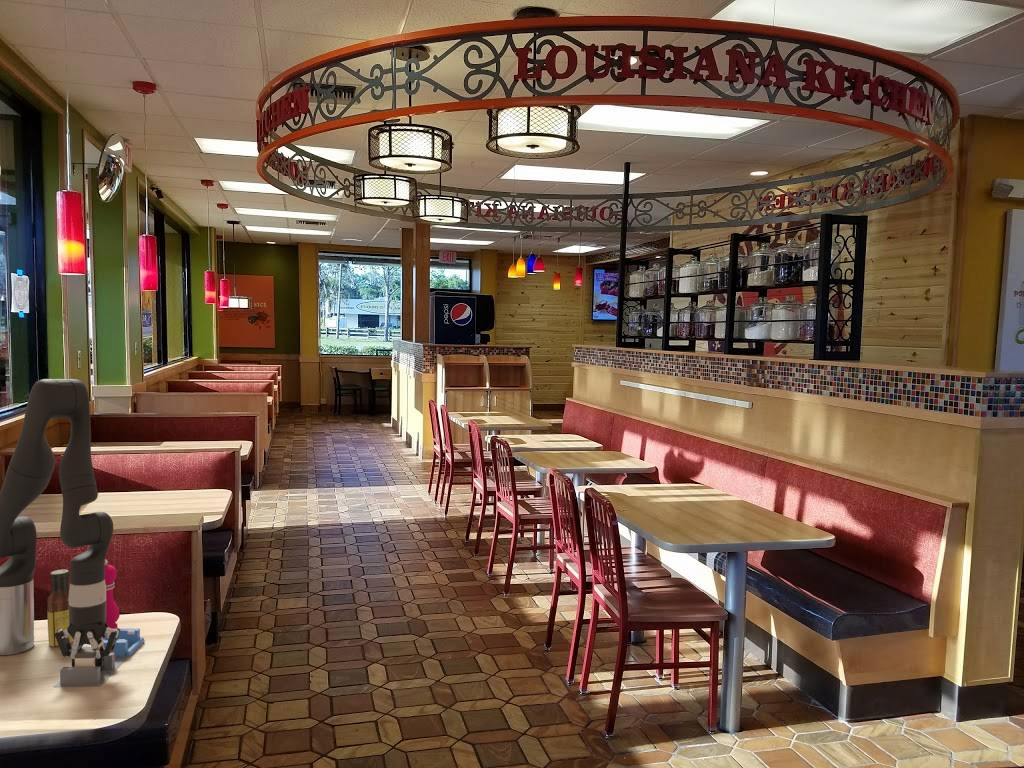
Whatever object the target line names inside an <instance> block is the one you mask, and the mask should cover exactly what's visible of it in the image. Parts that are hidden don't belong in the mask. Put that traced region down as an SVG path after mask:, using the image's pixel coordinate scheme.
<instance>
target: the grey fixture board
mask: <svg viewBox="0 0 1024 768" xmlns="http://www.w3.org/2000/svg"><path fill="white" fill-rule="evenodd" d="M119 629H120V633H119V636H118V638H117V641H116V644H115V647H114V650H113V651H112V652H111V653H110V654H109V655H108V656H105V657H104V663H105V664H104V665H105V667H104V669H103V670H102V671H101V673H100V666H95V667H72V666H63V667H62V668H60V669H59V677H60V678H59V681H58V682H57V683H56V684H55V685H54V686H53V688H95V687H99V688H101V686H102V685H103V684H105V683H106V681H107V680H108V679H109V678H111V677H112V675H114V673H115V672H116V671H117V670H118V669H119V668H120V667H121V666H122V665H123V664H124V663H125V662H126V661H127V660H128V659H129V658H130V657H131V655H133V654H134V653H135V652H136V650H138V649H139V647H141V646H142V644H144V643H145V642H146V640H145V636H141V629H140V628H137V627H136V628H135V627H134V628H127V627H126V628H119ZM108 639H109V638H107V633H106V632H105V637H104V639H103V641H104V644H103V645H104V649H105V647H106V645H107V642H108Z"/></svg>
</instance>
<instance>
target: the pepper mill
mask: <svg viewBox="0 0 1024 768" xmlns="http://www.w3.org/2000/svg"><path fill="white" fill-rule="evenodd" d="M108 563H109V562H108V559H105V584H106V623H107V625H108V627H109V628H113V629H116V628H119V627H118V623H117V622H118V621H119V619H120V609H119V607H118V605H117V603H116V601H115V599H114V593H113V591H114V588H115V587H116V586H115V584H116V583H115V579H116V578H117V575H118V574H117V569H116V567H115V566H114V565H111V564H108ZM103 636H105V634H104V635H103Z"/></svg>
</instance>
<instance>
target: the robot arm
mask: <svg viewBox="0 0 1024 768" xmlns="http://www.w3.org/2000/svg"><path fill="white" fill-rule="evenodd" d="M90 406H91V404H90V396H89V392H88V389H87V386H86V385H85V383H84V382H83V381H82V380H80V379H75V378H43V379H39V380H37V381H36V382H35V383H34V384H33V386H32V388H31V390H30V393H29V396H28V400H27V404H26V408H25V413H24V416H23V417H24V419H23V422H22V426H21V430H20V434H19V435H18V440H17V442H16V446H15V448H14V451H13V452H12V453H13V454H12V456H11V459H10V462H9V464H8V467H7V470H6V473H5V475H4V480H3V483H2V485H1V488H0V559H2V558H7V557H9V558H8V559H7V560H6V561H5V562H4V563H3V564H2V565H0V656H9V655H16V654H19V653H23V652H25V651H26V652H27V651H29V650H31V649H32V648H33V647H34V646H35V611H34V610H35V605H34V604H35V603H34V602H35V600H34V599H35V598H34V593H35V591H34V573H35V570H36V562H37V561H36V560H37V544H38V543H37V541H38V538H37V537H38V535H37V533H38V532H37V527H36V524H35V522H34V521H33V520H32V519H31V518H30V516H24V515H22V516H19V515H21V513H22V512H23V511H24V510H25V509H26V508H28V506H29V505H31V504H32V503H33V502H34V501H35V500H37V498H38V497H39V496H41V495H42V493H43V492H44V491H45V490H46V489H47V487H48V485H49V483H50V481H51V478H52V475H53V473H54V470H55V468H56V457H55V454H54V451H53V449H52V447H51V446H50V443H48V439H47V437H46V430H47V426H48V424H49V421H50V420H52V419H69V423H70V431H71V432H70V437H69V441H68V443H67V446H66V447H65V450H64V452H63V455H62V457H61V458H60V462H59V466H58V479H59V485H60V489H61V496H62V511H61V513H62V514H61V522H60V527H59V528H60V529H59V535H60V539H61V541H62V542H63V544H64V545H65V546H66V547H68V548H79V547H85V546H88V548H87V549H86V550H85V551H84V552H81V553H80V554H78V555H76V556H74V557H73V558H71V560H70V562H69V597H68V601H69V626H68V628H66V629H64V628H62V629H60V630H59V631H57V632H56V633H55V637H56V640H57V642H58V645H59V647H58V648H59V650H60V652H61V655H62V657H68V658H70V659H71V667H75V653H77V652H78V651H79V650H80V649H82V647H84V645H88V646H90V647H91V648H92V650H93V651H94V652H95V657H96V659H95V666H100V672H101V671H102V670H103V669H104V667H105V665H104V664H105V663H104V657H105V656H108V655H109V654H110V653H111V652H112V651H113V650H114V647H115V644H116V641H117V638H118V636H119V633H120V629H121V628H119V627H118V628H116V629H113V628H109V627H108V625H107V623H106V584H105V559H106V558H107V555H108V551H109V547H110V544H111V541H112V538H113V533H114V522H113V519H112V517H111V516H110V515H109V513H107V512H104V511H96V512H90V513H83V514H80V511H81V507H83V506H85V505H88V504H90V503H93V502H95V501H96V500H97V499H98V497H99V492H98V487H97V481H96V477H95V472H94V467H93V459H92V448H91V447H92V446H91V444H92V443H91V442H92V441H91V440H92V438H91V434H92V433H91V407H90ZM106 560H107V559H106ZM105 632H106V633H107V638H109V639H108V642H107V645H106V647H105V649H104V645H103V644H104V641H103V640H104V637H102V636H103V635H104V634H105ZM69 634H70V635H71V637H72V638H73V639H74V642H73V644H70V641H69V638H68V636H69Z"/></svg>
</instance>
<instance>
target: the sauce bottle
mask: <svg viewBox="0 0 1024 768" xmlns="http://www.w3.org/2000/svg"><path fill="white" fill-rule="evenodd" d="M49 575H50V579H51V592H50V594H49V596H48V598H47V601H46V603H47V604H46V607H47V610H46V614H47V617H46V618H47V633H48V635H47V637H48V646H50V647H53V648H59V645H58V642H57V640H56V637H55V633H56V632H57V631H59V630H60V629H62V628H64V629H66V628H68V626H69V601H68V597H69V587H70V580H69V578H70V570H68V569H64V568H63V569H56V570H53V571H51V572H50V574H49ZM68 638H69V641H70V644H71V645H73V642H74V639H73V638H72V637H71V635H70V634H69V636H68Z"/></svg>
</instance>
